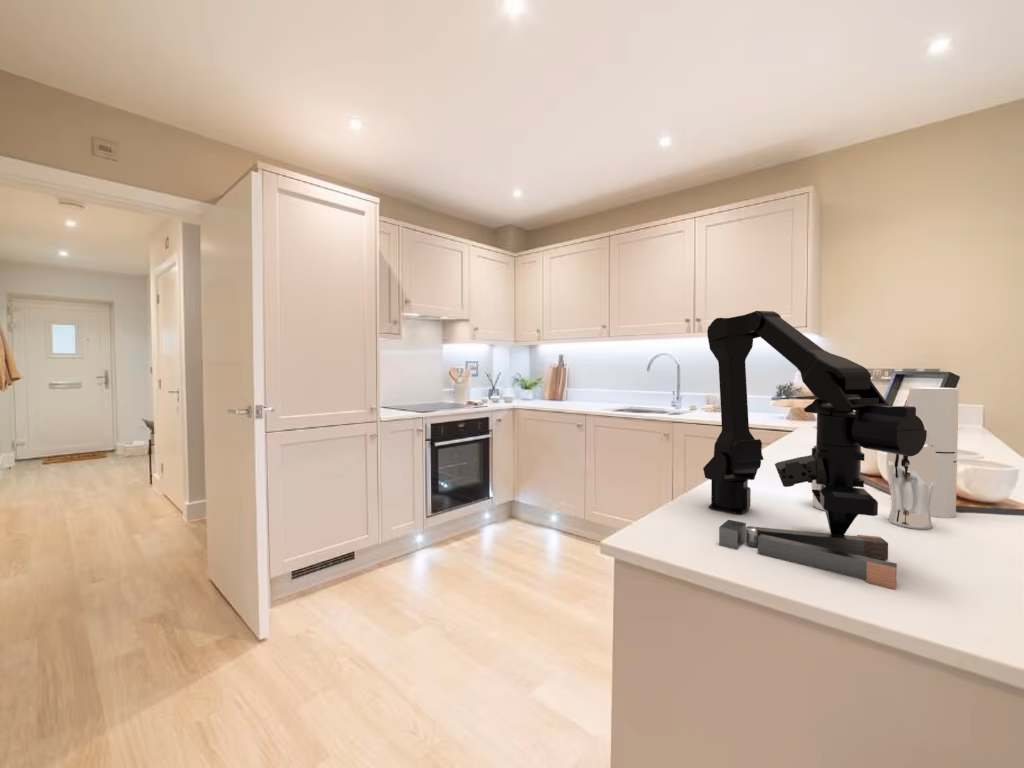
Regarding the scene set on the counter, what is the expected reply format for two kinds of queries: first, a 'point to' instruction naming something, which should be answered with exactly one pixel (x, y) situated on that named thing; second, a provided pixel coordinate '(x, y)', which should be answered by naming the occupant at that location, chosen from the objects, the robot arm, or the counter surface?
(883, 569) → the base
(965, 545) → the counter surface
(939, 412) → the beige tall box
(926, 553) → the counter surface
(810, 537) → the bar
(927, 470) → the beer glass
